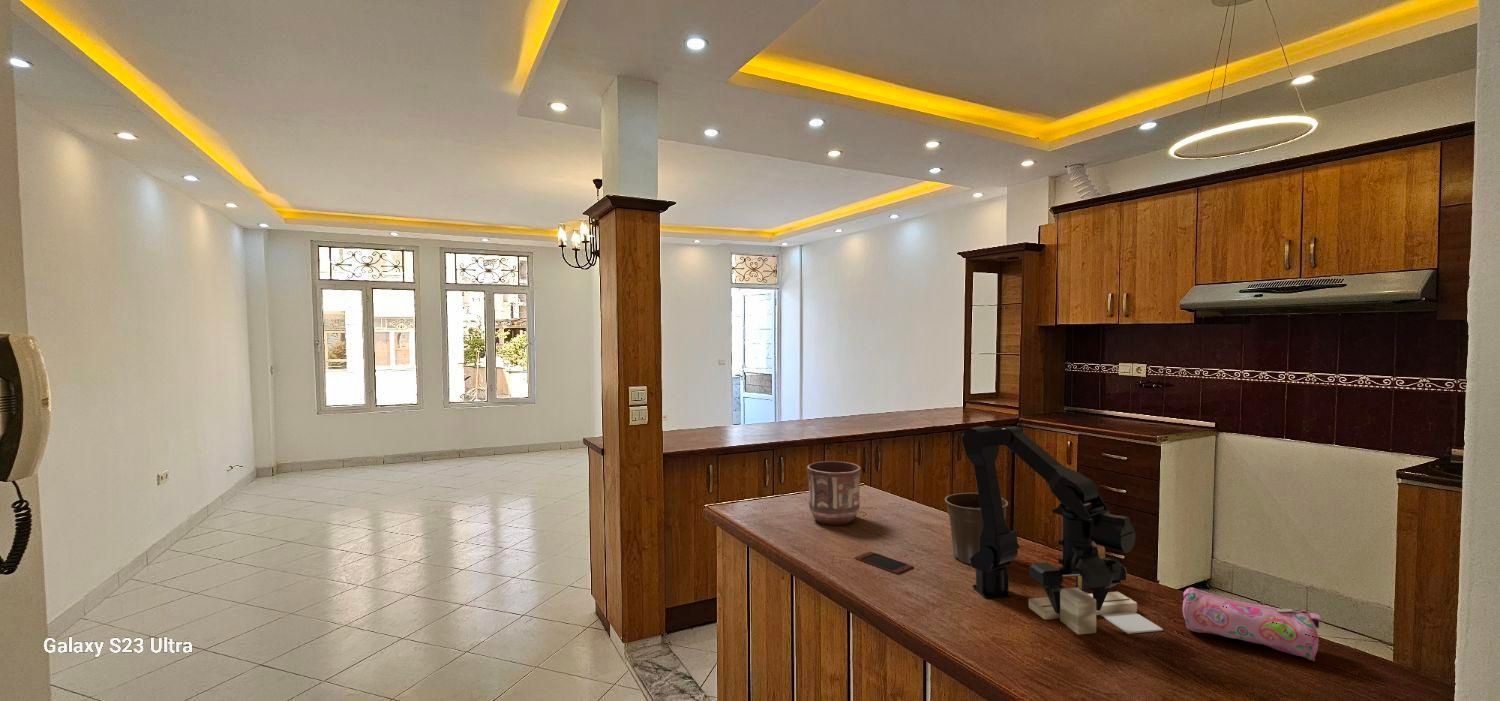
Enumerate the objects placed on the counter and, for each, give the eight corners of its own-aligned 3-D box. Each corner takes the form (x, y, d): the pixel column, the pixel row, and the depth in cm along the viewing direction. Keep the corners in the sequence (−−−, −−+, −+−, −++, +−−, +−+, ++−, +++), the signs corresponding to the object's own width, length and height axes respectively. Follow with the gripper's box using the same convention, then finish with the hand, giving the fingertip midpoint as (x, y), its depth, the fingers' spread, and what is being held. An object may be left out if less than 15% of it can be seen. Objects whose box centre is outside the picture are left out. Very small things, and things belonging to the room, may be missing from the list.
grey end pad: (1127, 633, 128) (1127, 632, 128) (1101, 615, 136) (1101, 614, 136) (1163, 630, 129) (1163, 629, 129) (1134, 613, 137) (1134, 611, 137)
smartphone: (897, 572, 161) (853, 556, 172) (897, 576, 161) (853, 560, 172) (914, 565, 165) (870, 550, 177) (914, 569, 165) (870, 554, 177)
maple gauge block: (1078, 634, 129) (1078, 601, 128) (1060, 621, 135) (1060, 589, 134) (1096, 632, 129) (1096, 599, 129) (1077, 619, 135) (1077, 587, 135)
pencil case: (1318, 649, 121) (1319, 604, 121) (1322, 670, 114) (1323, 622, 114) (1184, 619, 134) (1184, 578, 134) (1180, 636, 127) (1181, 592, 127)
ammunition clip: (1082, 591, 149) (1083, 541, 149) (1075, 588, 151) (1075, 539, 150) (1107, 580, 155) (1107, 532, 154) (1099, 578, 157) (1099, 530, 156)
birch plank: (1044, 619, 135) (1044, 610, 135) (1028, 607, 141) (1028, 598, 141) (1137, 611, 138) (1137, 602, 138) (1117, 600, 144) (1117, 591, 144)
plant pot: (942, 565, 167) (942, 505, 166) (947, 545, 182) (947, 490, 181) (1008, 573, 161) (1008, 511, 160) (1008, 551, 176) (1007, 495, 175)
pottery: (805, 527, 200) (804, 471, 199) (809, 511, 217) (808, 460, 217) (861, 530, 197) (861, 473, 196) (860, 513, 214) (860, 461, 214)
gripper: (1060, 555, 122) (1060, 633, 123) (1147, 549, 124) (1146, 626, 125) (1027, 536, 133) (1027, 608, 134) (1108, 531, 135) (1107, 601, 136)
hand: (1077, 611), depth 132 cm, fingers open, 9 cm apart
